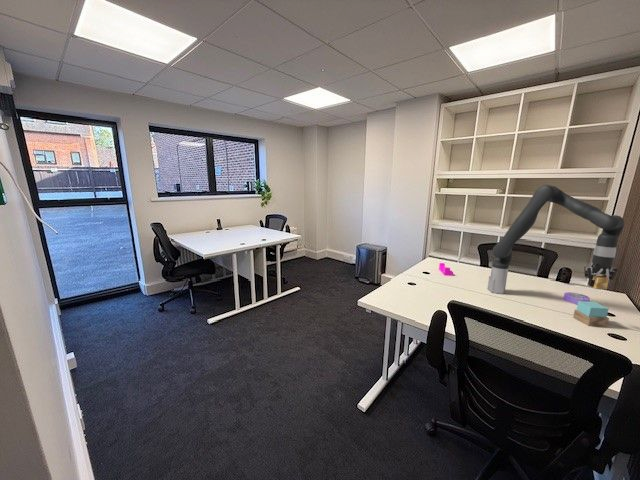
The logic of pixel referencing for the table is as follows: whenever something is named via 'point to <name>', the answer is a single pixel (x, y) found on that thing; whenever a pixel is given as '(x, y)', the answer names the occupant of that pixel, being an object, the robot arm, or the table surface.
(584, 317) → the tower base
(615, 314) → the table surface
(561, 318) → the table surface
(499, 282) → the robot arm
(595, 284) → the ochre block
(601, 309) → the block
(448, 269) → the magenta irregular piece
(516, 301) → the table surface
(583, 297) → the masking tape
